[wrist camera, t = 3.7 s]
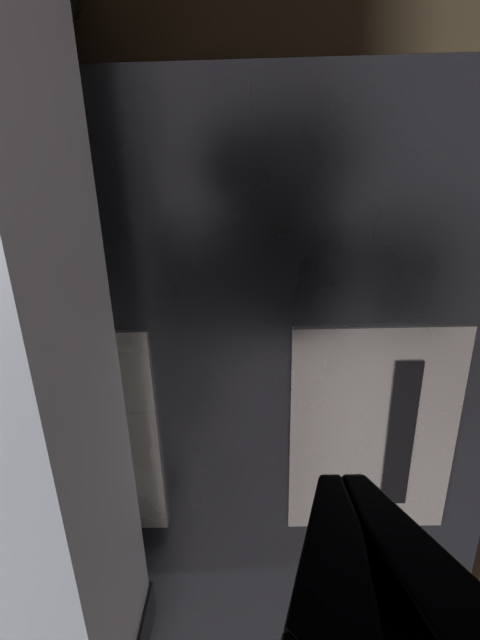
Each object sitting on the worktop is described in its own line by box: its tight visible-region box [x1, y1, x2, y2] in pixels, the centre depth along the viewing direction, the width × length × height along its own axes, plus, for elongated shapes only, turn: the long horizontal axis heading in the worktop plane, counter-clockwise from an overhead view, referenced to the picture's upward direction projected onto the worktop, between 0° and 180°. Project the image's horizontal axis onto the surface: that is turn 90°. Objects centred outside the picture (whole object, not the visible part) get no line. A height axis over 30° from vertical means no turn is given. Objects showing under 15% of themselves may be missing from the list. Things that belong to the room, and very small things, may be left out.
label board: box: [70, 0, 480, 640], centre depth 12 cm, size 24×16×2 cm
